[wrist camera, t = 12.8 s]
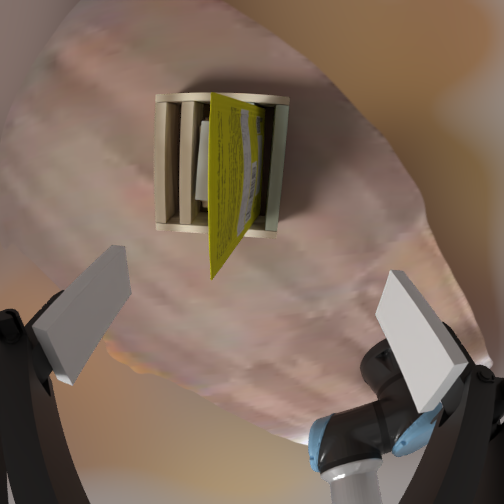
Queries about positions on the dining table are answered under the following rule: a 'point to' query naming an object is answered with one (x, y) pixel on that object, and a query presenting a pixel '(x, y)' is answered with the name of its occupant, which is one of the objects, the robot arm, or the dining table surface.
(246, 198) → the food package
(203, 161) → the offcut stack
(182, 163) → the rack
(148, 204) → the dining table surface
